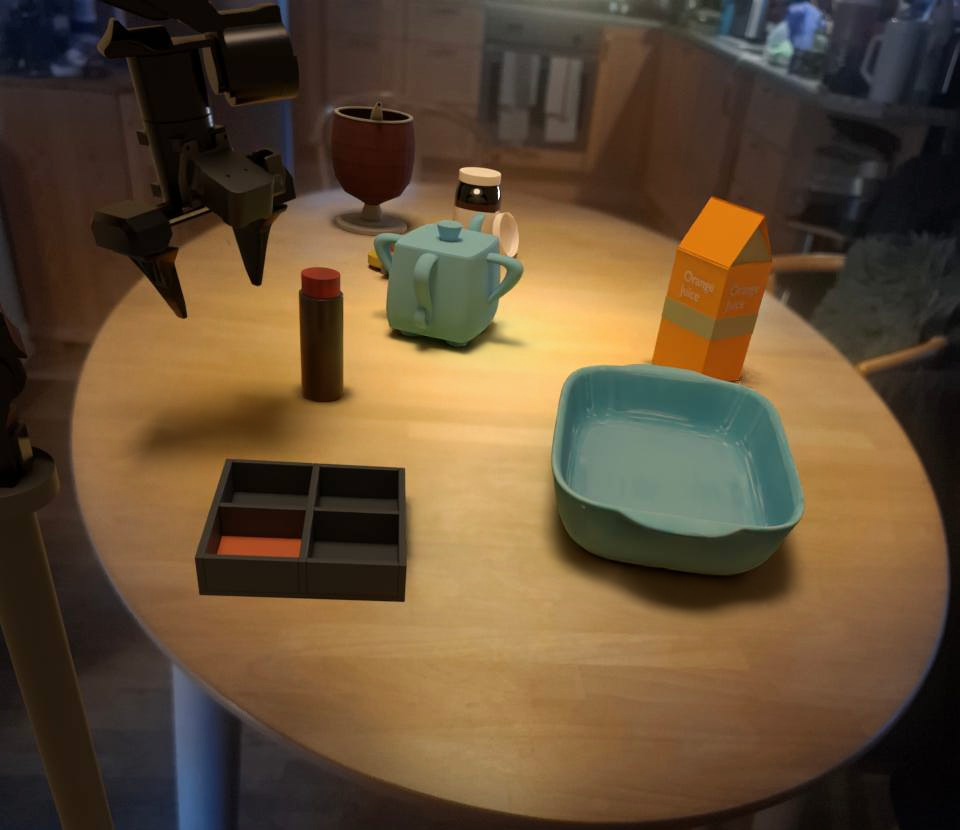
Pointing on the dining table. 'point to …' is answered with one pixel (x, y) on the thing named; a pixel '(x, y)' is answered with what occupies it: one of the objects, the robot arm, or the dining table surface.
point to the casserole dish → (673, 469)
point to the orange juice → (715, 292)
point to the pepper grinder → (321, 334)
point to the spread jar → (485, 206)
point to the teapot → (445, 279)
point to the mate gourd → (372, 163)
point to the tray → (305, 532)
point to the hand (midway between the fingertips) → (220, 301)
